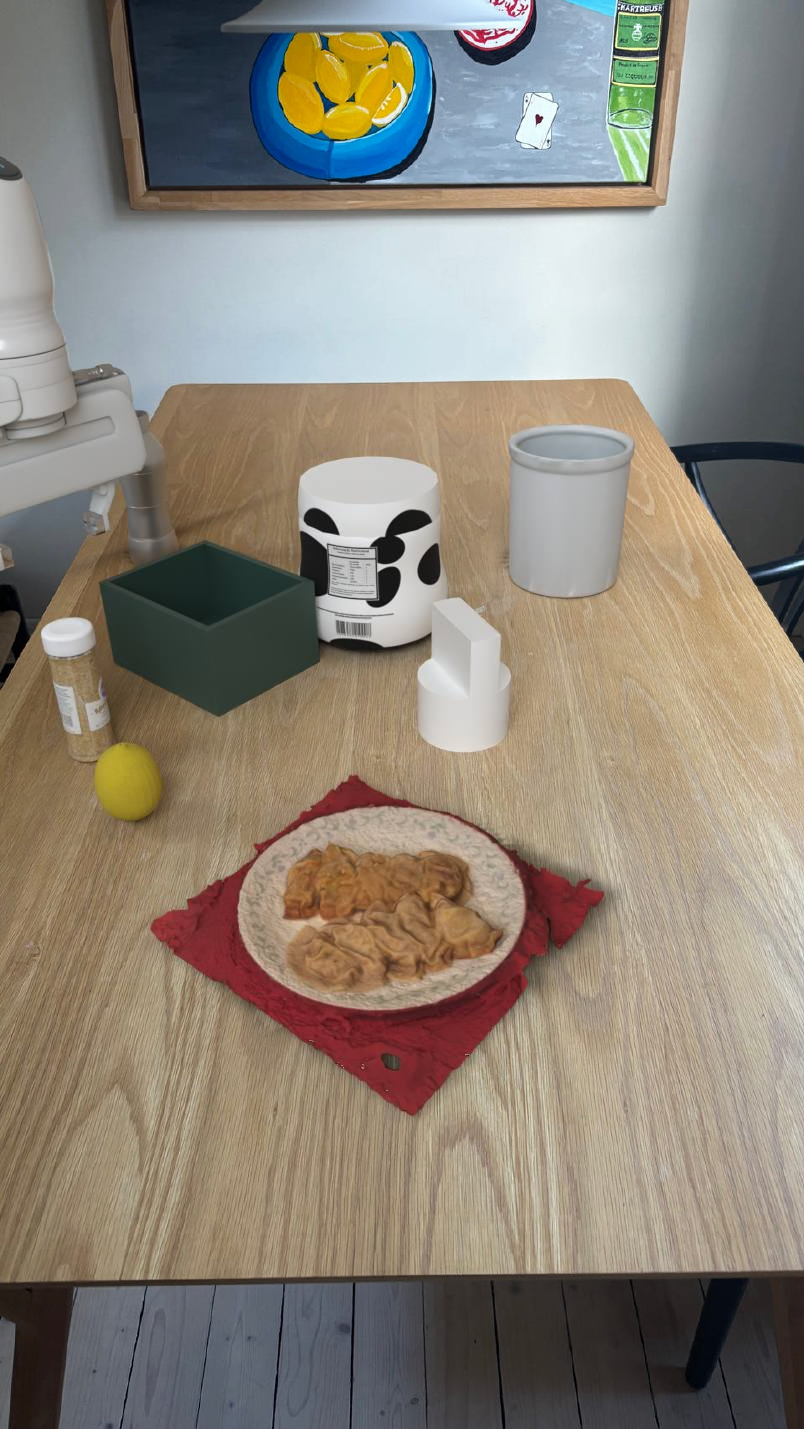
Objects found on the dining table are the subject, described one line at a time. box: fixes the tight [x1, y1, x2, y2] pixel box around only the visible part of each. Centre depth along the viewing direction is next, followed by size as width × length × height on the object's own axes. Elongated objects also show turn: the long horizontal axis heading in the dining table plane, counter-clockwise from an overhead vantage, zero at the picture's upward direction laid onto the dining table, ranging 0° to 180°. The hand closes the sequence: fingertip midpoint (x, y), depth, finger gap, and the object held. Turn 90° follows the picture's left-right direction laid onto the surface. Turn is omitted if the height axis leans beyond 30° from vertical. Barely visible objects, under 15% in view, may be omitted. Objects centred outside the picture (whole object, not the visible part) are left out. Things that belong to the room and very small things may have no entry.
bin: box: [98, 539, 320, 718], centre depth 111 cm, size 18×15×10 cm
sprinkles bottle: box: [40, 616, 117, 763], centre depth 95 cm, size 5×5×14 cm
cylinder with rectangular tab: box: [417, 597, 512, 753], centre depth 98 cm, size 9×9×12 cm
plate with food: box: [150, 774, 605, 1116], centre depth 78 cm, size 24×26×4 cm
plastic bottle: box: [119, 409, 180, 567], centre depth 130 cm, size 6×7×20 cm
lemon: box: [93, 742, 163, 822], centre depth 88 cm, size 6×6×8 cm
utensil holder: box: [508, 423, 636, 599], centre depth 126 cm, size 15×15×18 cm
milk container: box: [297, 455, 449, 652], centre depth 115 cm, size 17×17×18 cm
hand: (51, 549), depth 88 cm, fingers open, 8 cm apart
